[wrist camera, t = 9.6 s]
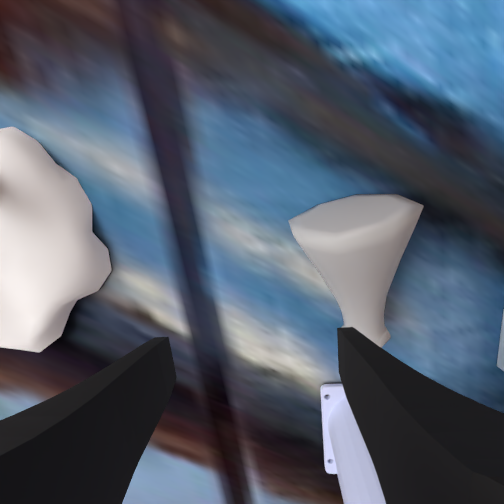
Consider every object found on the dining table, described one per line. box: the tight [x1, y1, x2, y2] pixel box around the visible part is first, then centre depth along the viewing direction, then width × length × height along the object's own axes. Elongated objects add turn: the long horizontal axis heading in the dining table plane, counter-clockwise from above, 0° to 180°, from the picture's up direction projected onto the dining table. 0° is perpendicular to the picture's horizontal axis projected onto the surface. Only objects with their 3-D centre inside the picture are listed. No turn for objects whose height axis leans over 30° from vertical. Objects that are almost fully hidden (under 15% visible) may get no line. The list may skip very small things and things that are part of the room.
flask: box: [289, 194, 423, 348], centre depth 17 cm, size 7×7×10 cm
